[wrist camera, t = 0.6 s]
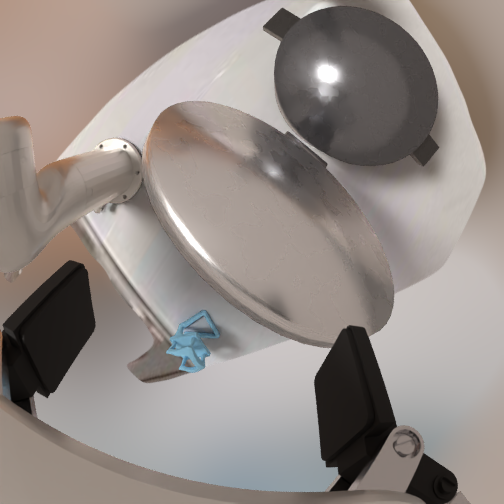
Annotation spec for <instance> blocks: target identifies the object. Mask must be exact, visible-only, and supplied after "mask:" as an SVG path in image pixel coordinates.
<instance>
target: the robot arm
mask: <svg viewBox="0 0 504 504" xmlns="http://www.w3.org/2000/svg"><path fill="white" fill-rule="evenodd" d="M142 179H143V172H142V159H141V156H140V154H139V152H138V151H137V149H136V148H135V147H134V146H133V145H132V144H131V143H130V142H128V141H126V140H124V139H121V138H110V139H107V140H104V141H102V142H100V143H99V144H98V145H97V146H96V147H95V148H94V150H93V151H90V152H86V153H83V154H79V155H75V156H72V157H68V158H65V159H62V160H58V161H55V162H52V163H50V164H48V165H46V166H45V167H43V168H42V169H41V170H40V171H39V172H38V173H37V174H36V169H35V160H34V150H33V140H32V132H31V127H30V124H29V122H28V121H27V120H26V119H25V118H23V117H20V116H11V117H5V118H0V272H4V273H10V272H15V271H18V270H20V269H22V268H24V267H25V266H26V265H28V264H29V263H30V262H32V261H33V260H34V259H35V258H36V257H37V256H38V254H39V253H40V252H41V251H42V250H43V249H44V248H45V246H46V245H47V244H48V243H49V242H50V241H51V240H52V239H53V238H54V237H55V236H56V235H57V234H58V233H59V232H61V231H62V230H63V229H65V228H66V227H68V226H69V225H71V224H72V223H74V222H75V221H77V220H78V219H80V218H82V217H83V216H85V215H87V214H88V213H90V212H91V211H93V210H94V212H95V213H100V211H101V209H102V206H104V205H105V204H107V203H122V202H125V201H127V200H128V199H130V198H131V197H133V196H134V195H135V194H136V192H137V191H138V189H139V188H140V186H141V183H142ZM126 196H127V197H126ZM3 327H4V330H3V331H2V332H1V330H0V504H470V503H469V501H468V500H467V499H466V498H465V496H464V495H463V494H462V493H461V491H460V492H458V493H457V489H458V483H457V479H456V477H455V475H454V474H453V473H452V472H451V471H449V470H448V469H446V468H445V467H443V466H442V465H440V464H439V463H437V462H436V461H434V460H433V459H431V458H430V457H428V456H427V455H426V454H424V453H423V452H424V441H423V439H422V436H421V435H420V434H419V432H418V431H417V430H415V429H414V428H412V427H410V426H398V427H397V425H396V421H395V417H394V414H393V410H392V407H391V404H390V400H389V397H388V394H387V391H386V387H385V384H384V381H383V378H382V375H381V372H380V369H379V366H378V363H377V360H376V357H375V354H374V351H373V348H372V345H371V343H370V340H369V337H368V334H367V332H366V329H365V328H364V327H360V326H353V325H349V326H347V328H343V329H342V330H341V332H340V334H339V336H338V337H337V339H336V341H335V343H334V345H333V347H332V348H331V350H330V352H329V354H328V355H327V357H326V359H325V361H324V362H323V364H322V366H321V367H320V369H319V371H318V373H317V374H316V376H315V380H314V385H315V394H316V404H317V414H318V424H319V435H320V447H321V458H322V460H324V461H326V467H338V474H339V475H338V476H337V477H336V479H335V480H334V481H333V482H332V483H331V485H330V486H329V487H328V488H327V489H326V491H325V492H274V491H259V490H248V489H239V488H231V487H224V486H218V485H212V484H207V483H202V482H196V481H192V480H187V479H183V478H179V477H175V476H171V475H167V474H164V473H160V472H157V471H153V470H150V469H147V468H144V467H141V466H137V465H135V464H132V463H129V462H126V461H123V460H121V459H118V458H115V457H113V456H111V455H108V454H106V453H104V452H101V451H99V450H97V449H94V448H92V447H90V446H88V445H86V444H83V443H81V442H79V441H77V440H75V439H73V438H71V437H69V436H67V435H65V434H64V433H61V432H60V431H58V430H56V429H54V428H53V427H51V426H49V425H48V424H46V423H44V422H43V421H41V420H39V419H38V418H37V414H36V408H35V402H34V396H33V395H34V393H35V392H36V391H37V392H38V393H40V394H41V395H43V396H45V397H46V398H48V396H49V395H50V393H53V392H55V390H56V389H57V387H58V385H59V384H60V382H61V381H62V379H63V377H64V376H65V374H66V373H67V371H68V369H69V368H70V366H71V365H72V363H73V362H74V360H75V358H76V357H77V355H78V354H79V352H80V350H81V349H82V347H83V346H84V345H85V343H86V342H87V340H88V339H89V338H90V336H91V335H92V333H93V332H94V329H95V318H94V312H93V307H92V300H91V294H90V286H89V279H88V272H87V270H86V269H85V266H84V265H83V264H81V263H78V262H75V261H71V260H69V261H68V262H66V263H65V264H64V265H63V266H62V267H61V268H60V269H59V270H57V271H56V272H55V273H54V274H53V275H52V276H51V277H50V278H49V279H48V280H46V281H45V282H44V283H43V284H42V285H41V286H40V287H39V288H38V289H37V290H36V291H35V292H34V293H33V294H32V295H31V296H30V297H29V298H28V299H27V300H26V301H25V302H24V303H23V304H22V305H21V306H20V307H19V308H18V309H17V310H16V311H15V312H14V313H13V314H12V315H11V316H10V317H9V318H8V319H7V320H6V321H5V323H4V324H3Z"/></svg>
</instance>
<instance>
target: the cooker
mask: <svg viewBox="0 0 504 504" xmlns="http://www.w3.org/2000/svg"><path fill="white" fill-rule="evenodd" d="M263 30H264V31H265V32H267V33H269V34H270V35H272V36H273V37H275V38H277V39H278V40H280V41H281V43H280V46H279V49H278V51H277V55H276V59H275V69H274V82H275V96H276V100H277V104H278V107H279V110H280V112H281V114H282V116H283V118H284V119H285V121H286V122H287V124H288V125H289V127H290V128H291V129H292V130H293V131H294V132H295V133H296V134H297V135H298V136H299V137H300V138H301V139H303V140H304V141H305V142H307V143H308V144H310V145H312V146H314V147H315V148H317V149H319V150H321V151H322V152H324V153H326V154H328V155H329V156H331V157H334V158H336V159H338V160H341V161H344V162H347V163H351V164H356V165H363V166H376V165H384V164H389V163H393V162H395V161H398V160H400V159H402V158H404V157H406V156H408V155H411V156H412V158H413V159H414V160H415V161H416V162H417V163H418V165H421V166H423V167H424V166H425V164H426V163H427V162H428V161H429V159H430V158H431V157H432V156H433V155H434V153H435V152H436V151H437V150H438V148H439V147H438V145H437V144H436V143H435V142H434V140H433V139H432V138H431V136H430V135H429V133H430V131H431V129H432V127H433V124H434V121H435V118H436V113H437V108H438V90H437V84H436V79H435V75H434V72H433V69H432V67H431V65H430V62H429V60H428V58H427V57H426V55H425V53H424V52H423V50H422V49H421V47H420V46H419V45H418V43H417V42H416V41H415V40H414V39H413V38H412V36H411V35H410V34H409V33H408V32H406V31H405V30H404V29H403V28H402V27H400V26H399V25H398V24H396V23H395V22H393V21H392V20H390V19H388V18H386V17H384V16H383V15H380V14H378V13H375V12H373V11H370V10H366V9H362V8H357V7H350V6H337V7H329V8H325V9H321V10H318V11H315V12H313V13H310V14H308V15H307V16H305V17H303V18H302V19H300V18H298V17H297V16H295V15H294V14H292V13H290V12H289V11H287V10H285V9H284V8H281V9H280V10H279V11H278V12H277V13H276V14H275V15H274V16H273V17H272V18H271V19H270V20H269V21H268V22H267V23H266V24H265V25H264V26H263Z"/></svg>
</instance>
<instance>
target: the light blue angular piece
mask: <svg viewBox="0 0 504 504" xmlns="http://www.w3.org/2000/svg"><path fill="white" fill-rule="evenodd" d="M201 316H204V317H205V318H206V320H207V322H208V323H209V325H210V327H211V328H212V330H213V332H214V333H215V334H211V333H200V332H185V333H184V334H183V329H184V328H186V327H187V326H189V325H190V324H192V323H193V322H194V321H196V320H197V319H199V318H200V317H201ZM219 336H220V334H219V332H218V330H217V329H216V327H215V325H214V324H213V322H212V320H211V319H210V317H209V315H208V313H207V312H206V311H205V310H203V311H201V312H199V313H197V314H196V315H194V316H193V317H191V318H190V319H188V320H187V321H185V322H183V323H181V324H180V325H179V327H178V330H177V332H176V334H175V335H174V336H173V337H170V341H171V342H172V346H171V347H170V348H169V349H168V350H167V352H166V353H167V354H173V355H175V356H182V357H183V361H182V364H181V366H180V368H179V370H184V371H187V372H191V373H193V372H197V371H200V370H202V369H204V368H205V357H208V356H210V354H211V353H210V352H209V350H208V349H207V347H206V346H205V345H204V343H203V342H202V340H201V338H219ZM175 347H176V349H174V348H175ZM199 357H201V360H200V358H199ZM188 359H191V361H192V362H193V364H194V365H195V367H186V366H184V365H185V363H186V361H187V360H188Z"/></svg>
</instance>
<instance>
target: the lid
mask: <svg viewBox="0 0 504 504" xmlns="http://www.w3.org/2000/svg"><path fill="white" fill-rule="evenodd" d="M326 166H327V163H326V162H325V161H324V160H322V159H321V158H320V157H319V156H318V155H317V154H315V153H314V152H313V151H312V150H311V149H309V148H308V147H307V146H306V145H305V144H303V143H302V142H301V141H300V140H298V139H297V138H296V137H295V136H293V135H292V134H291V133H290V132H288V131H287V132H286V133H285V134H283V133H281V132H280V131H278V130H277V129H275V128H274V127H272V126H270V125H268V124H267V123H265V122H263V121H261V120H259V119H257V118H255V117H253V116H251V115H249V114H247V113H244V112H242V111H239V110H237V109H234V108H231V107H228V106H224V105H221V104H216V103H211V102H203V101H187V102H182V103H177V104H175V105H172V106H170V107H168V108H167V109H165V110H164V111H163V112H161V113H160V115H159V116H158V118H157V119H156V120H155V122H154V124H153V126H152V128H151V130H150V132H149V134H148V136H147V138H146V141H145V144H144V148H143V151H142V172H143V179H144V184H145V187H146V191H147V194H148V197H149V200H150V203H151V205H152V207H153V209H154V211H155V213H156V215H157V217H158V219H159V221H160V223H161V225H162V227H163V229H164V230H165V232H166V233H167V235H168V236H169V237H170V239H171V240H172V242H173V243H174V245H175V246H176V248H177V249H178V250H179V252H180V253H181V255H182V256H183V257H184V258H185V259H186V260H187V261H188V263H189V264H190V265H191V266H192V267H193V268H194V269H195V271H196V272H197V273H198V274H199V275H200V276H201V277H202V278H203V280H205V281H206V282H207V283H208V284H209V285H210V286H211V287H212V288H213V289H214V290H216V291H217V292H218V293H219V294H220V295H221V296H222V297H223V298H224V299H226V300H227V301H228V302H229V303H230V304H232V305H233V306H235V307H236V308H237V309H239V310H240V311H241V312H243V313H244V314H246V315H247V316H248V317H250V318H251V319H253V320H254V321H256V322H258V323H259V324H261V325H263V326H265V327H267V328H268V329H270V330H272V331H274V332H276V333H278V334H280V335H282V336H284V337H287V338H290V339H292V340H295V341H298V342H300V343H303V344H308V345H313V346H318V347H323V348H332V347H333V345H334V343H335V341H336V339H337V337H338V336H339V334H340V332H341V330H342V329H343V328H347V326H349V325H353V326H360V327H364V328H365V329H366V332H367V334H368V337H369V336H371V335H372V334H374V333H376V332H378V331H380V330H381V329H382V328H383V327H384V326H385V325H386V324H387V321H388V320H389V318H390V316H391V313H392V309H393V303H394V286H393V280H392V275H391V271H390V267H389V264H388V261H387V258H386V256H385V253H384V251H383V248H382V246H381V244H380V242H379V240H378V238H377V236H376V234H375V232H374V230H373V228H372V227H371V225H370V223H369V222H368V220H367V218H366V217H365V215H364V214H363V212H362V211H361V209H360V208H359V207H358V205H357V204H356V203H355V201H354V200H353V198H352V197H351V196H350V195H349V193H348V192H347V191H346V190H345V189H344V187H343V186H342V185H341V184H340V183H339V182H338V181H337V180H336V178H335V177H334V176H333V175H332V174H331V173H330V172H329V171H328V170H327V169H326Z"/></svg>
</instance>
